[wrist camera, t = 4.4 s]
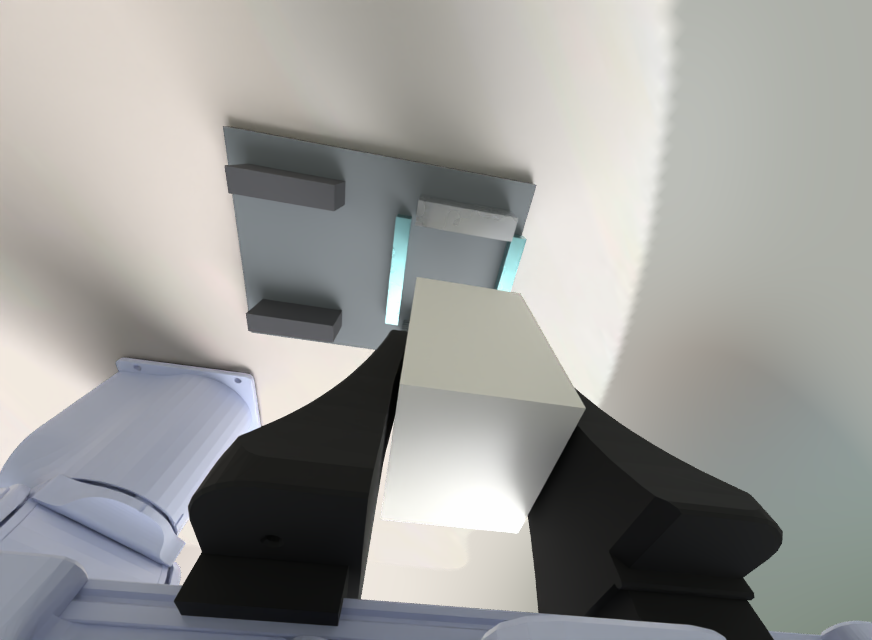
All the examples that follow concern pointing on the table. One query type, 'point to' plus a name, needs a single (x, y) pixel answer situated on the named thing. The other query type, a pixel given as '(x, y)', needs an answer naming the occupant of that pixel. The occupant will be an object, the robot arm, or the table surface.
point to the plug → (475, 411)
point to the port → (460, 221)
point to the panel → (360, 232)
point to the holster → (298, 192)
